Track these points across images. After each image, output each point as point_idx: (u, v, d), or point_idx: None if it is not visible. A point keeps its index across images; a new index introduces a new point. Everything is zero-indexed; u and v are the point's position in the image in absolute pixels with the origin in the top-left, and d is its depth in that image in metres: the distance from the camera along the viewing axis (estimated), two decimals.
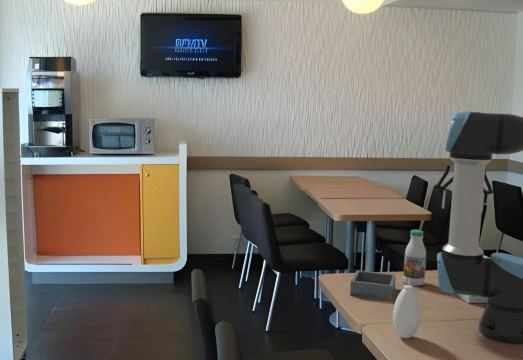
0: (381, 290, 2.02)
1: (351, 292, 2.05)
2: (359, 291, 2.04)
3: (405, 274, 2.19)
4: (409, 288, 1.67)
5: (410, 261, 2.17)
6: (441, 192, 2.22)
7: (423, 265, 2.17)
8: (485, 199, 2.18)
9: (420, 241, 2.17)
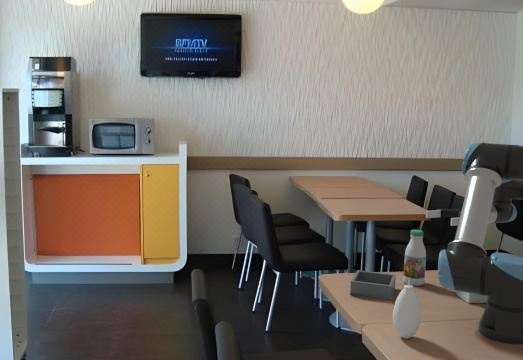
0: (381, 290, 2.02)
1: (351, 292, 2.05)
2: (359, 291, 2.04)
3: (405, 274, 2.19)
4: (409, 288, 1.67)
5: (410, 261, 2.17)
6: None
7: (423, 265, 2.17)
8: None
9: (420, 241, 2.17)
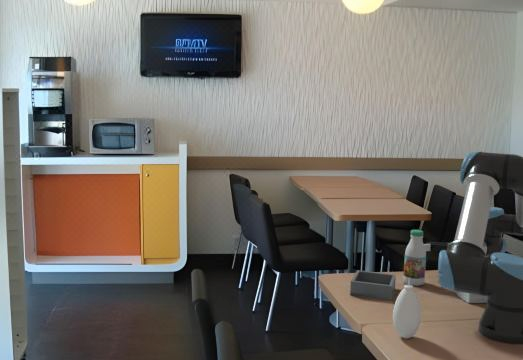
0: (381, 290, 2.02)
1: (351, 292, 2.05)
2: (359, 291, 2.04)
3: (405, 274, 2.19)
4: (409, 288, 1.67)
5: (410, 261, 2.17)
6: None
7: (423, 265, 2.17)
8: None
9: (420, 241, 2.17)
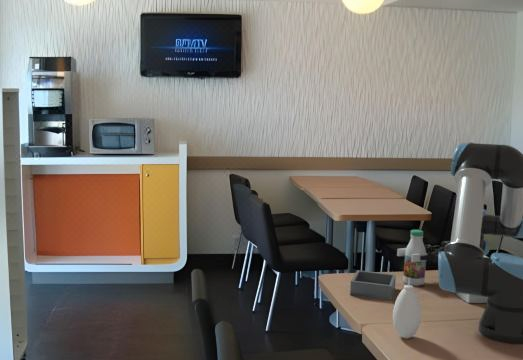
0: (381, 290, 2.02)
1: (351, 292, 2.05)
2: (359, 291, 2.04)
3: (405, 274, 2.19)
4: (409, 288, 1.67)
5: (410, 261, 2.17)
6: None
7: (423, 265, 2.17)
8: (424, 256, 2.15)
9: (420, 241, 2.17)
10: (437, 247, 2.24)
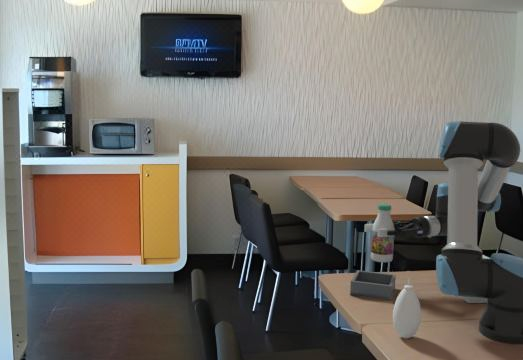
0: (381, 290, 2.02)
1: (351, 292, 2.05)
2: (359, 291, 2.04)
3: (372, 250, 2.09)
4: (409, 288, 1.67)
5: (377, 237, 2.07)
6: None
7: (391, 241, 2.07)
8: (391, 231, 2.05)
9: (388, 216, 2.07)
10: (407, 223, 2.14)
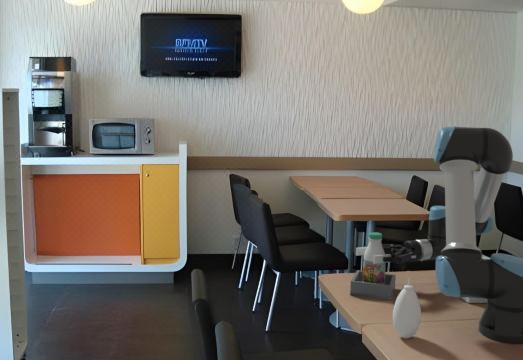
0: (381, 290, 2.02)
1: (351, 292, 2.05)
2: (359, 291, 2.04)
3: (364, 279, 2.08)
4: (409, 288, 1.67)
5: (368, 266, 2.06)
6: None
7: (382, 270, 2.06)
8: (387, 257, 2.02)
9: (379, 244, 2.06)
10: (398, 247, 2.13)
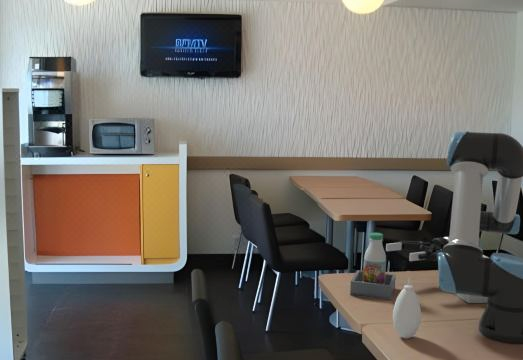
0: (381, 290, 2.02)
1: (351, 292, 2.05)
2: (359, 291, 2.04)
3: (364, 279, 2.08)
4: (409, 288, 1.67)
5: (369, 266, 2.06)
6: None
7: (383, 270, 2.06)
8: (423, 254, 2.07)
9: (379, 245, 2.06)
10: (427, 244, 2.18)
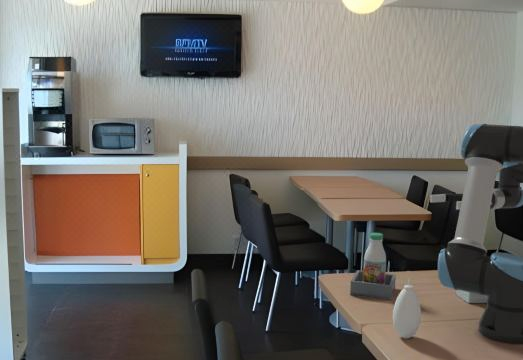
0: (381, 290, 2.02)
1: (351, 292, 2.05)
2: (359, 291, 2.04)
3: (364, 279, 2.08)
4: (409, 288, 1.67)
5: (369, 266, 2.06)
6: None
7: (383, 270, 2.06)
8: None
9: (379, 245, 2.06)
10: None
